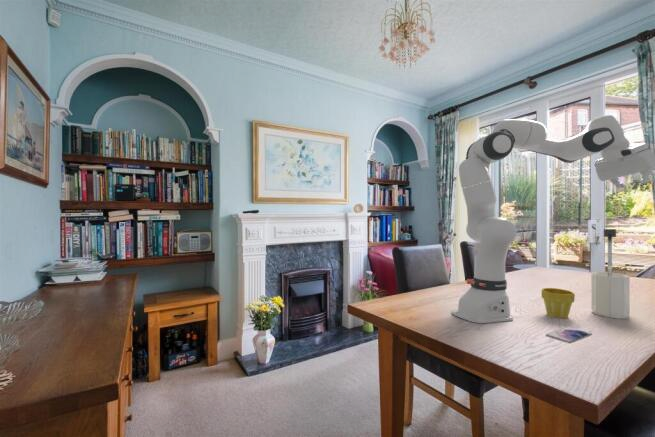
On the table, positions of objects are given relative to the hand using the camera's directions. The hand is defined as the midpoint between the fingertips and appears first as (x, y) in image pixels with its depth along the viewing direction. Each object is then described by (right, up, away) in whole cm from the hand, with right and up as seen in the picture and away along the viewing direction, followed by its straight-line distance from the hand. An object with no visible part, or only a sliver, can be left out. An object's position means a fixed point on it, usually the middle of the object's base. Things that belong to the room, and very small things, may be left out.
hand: (633, 185), depth 117 cm
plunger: (-8, -39, +1) cm, 40 cm away
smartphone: (-41, -52, -19) cm, 69 cm away
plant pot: (-30, -52, 0) cm, 60 cm away
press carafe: (-7, -51, +2) cm, 52 cm away
